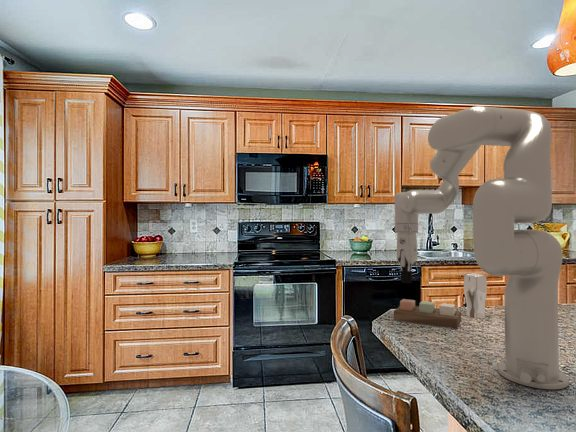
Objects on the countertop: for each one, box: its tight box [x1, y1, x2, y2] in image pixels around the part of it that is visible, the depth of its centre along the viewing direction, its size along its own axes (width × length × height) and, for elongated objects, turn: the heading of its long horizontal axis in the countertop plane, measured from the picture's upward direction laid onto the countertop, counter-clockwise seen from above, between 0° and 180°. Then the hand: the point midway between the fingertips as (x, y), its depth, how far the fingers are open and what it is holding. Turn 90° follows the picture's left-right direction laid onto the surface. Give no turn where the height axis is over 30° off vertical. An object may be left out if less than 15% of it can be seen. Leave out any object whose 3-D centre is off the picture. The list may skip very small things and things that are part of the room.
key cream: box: [439, 302, 456, 316], centre depth 113 cm, size 4×4×3 cm
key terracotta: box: [399, 298, 416, 311], centre depth 119 cm, size 4×4×3 cm
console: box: [393, 305, 462, 330], centre depth 116 cm, size 10×19×4 cm, turn 58°
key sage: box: [418, 300, 436, 314], centre depth 116 cm, size 4×4×3 cm
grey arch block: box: [463, 272, 488, 319], centre depth 121 cm, size 7×7×15 cm
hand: (406, 282), depth 120 cm, fingers closed
